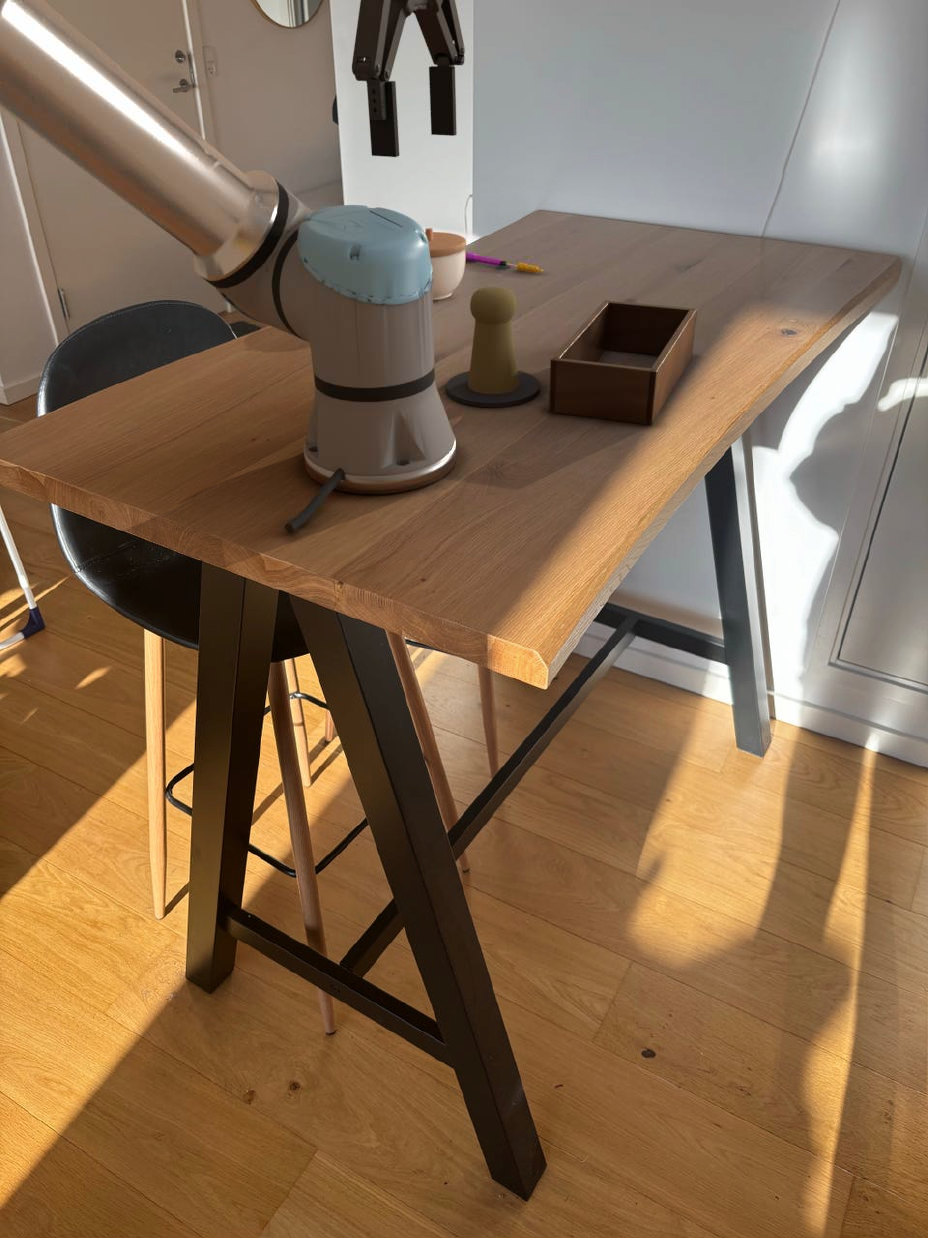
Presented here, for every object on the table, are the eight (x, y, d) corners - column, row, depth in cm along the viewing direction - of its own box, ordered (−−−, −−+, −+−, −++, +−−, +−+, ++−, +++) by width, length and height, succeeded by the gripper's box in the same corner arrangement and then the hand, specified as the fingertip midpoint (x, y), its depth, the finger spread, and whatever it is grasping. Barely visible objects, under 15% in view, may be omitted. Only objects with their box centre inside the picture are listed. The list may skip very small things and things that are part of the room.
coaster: (522, 412, 109) (522, 407, 109) (431, 400, 113) (431, 395, 112) (552, 378, 118) (552, 373, 117) (466, 368, 121) (466, 363, 121)
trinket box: (442, 308, 141) (440, 240, 136) (381, 298, 146) (377, 232, 140) (480, 289, 149) (479, 224, 143) (421, 280, 153) (418, 217, 148)
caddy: (651, 425, 106) (656, 371, 102) (548, 411, 109) (550, 359, 106) (691, 356, 123) (697, 308, 119) (601, 346, 126) (604, 299, 123)
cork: (491, 398, 111) (491, 300, 105) (457, 384, 115) (454, 289, 109) (530, 384, 114) (531, 289, 108) (495, 371, 118) (495, 278, 112)
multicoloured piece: (458, 259, 162) (539, 274, 154) (459, 251, 162) (540, 266, 154) (468, 259, 164) (548, 274, 156) (469, 252, 164) (549, 266, 156)
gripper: (376, -117, 79) (392, 167, 91) (495, -107, 98) (495, 128, 110) (297, -113, 82) (323, 163, 94) (427, -104, 101) (435, 125, 113)
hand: (416, 145), depth 102 cm, fingers open, 13 cm apart
